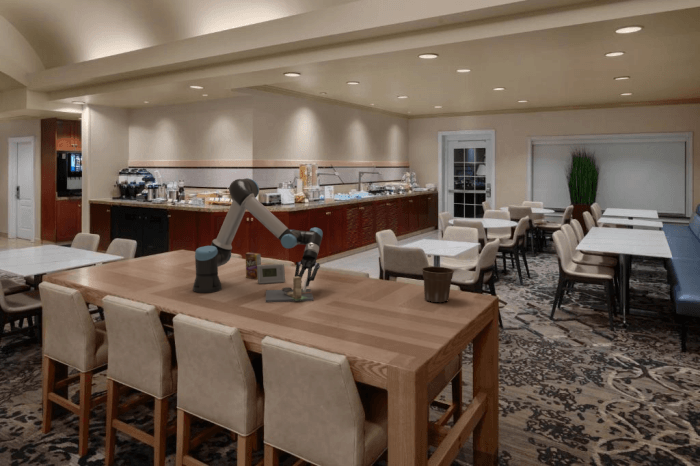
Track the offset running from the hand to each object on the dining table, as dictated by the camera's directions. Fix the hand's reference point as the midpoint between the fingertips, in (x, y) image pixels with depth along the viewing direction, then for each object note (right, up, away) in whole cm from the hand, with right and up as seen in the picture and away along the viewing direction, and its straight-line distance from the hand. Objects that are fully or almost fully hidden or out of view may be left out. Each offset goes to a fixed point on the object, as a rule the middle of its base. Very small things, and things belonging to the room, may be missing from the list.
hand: (300, 291), depth 252 cm
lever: (-5, -3, +3) cm, 6 cm away
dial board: (-7, -4, +6) cm, 10 cm away
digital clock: (-21, 0, +37) cm, 43 cm away
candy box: (-34, +2, +49) cm, 60 cm away
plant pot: (+70, -5, +2) cm, 70 cm away
